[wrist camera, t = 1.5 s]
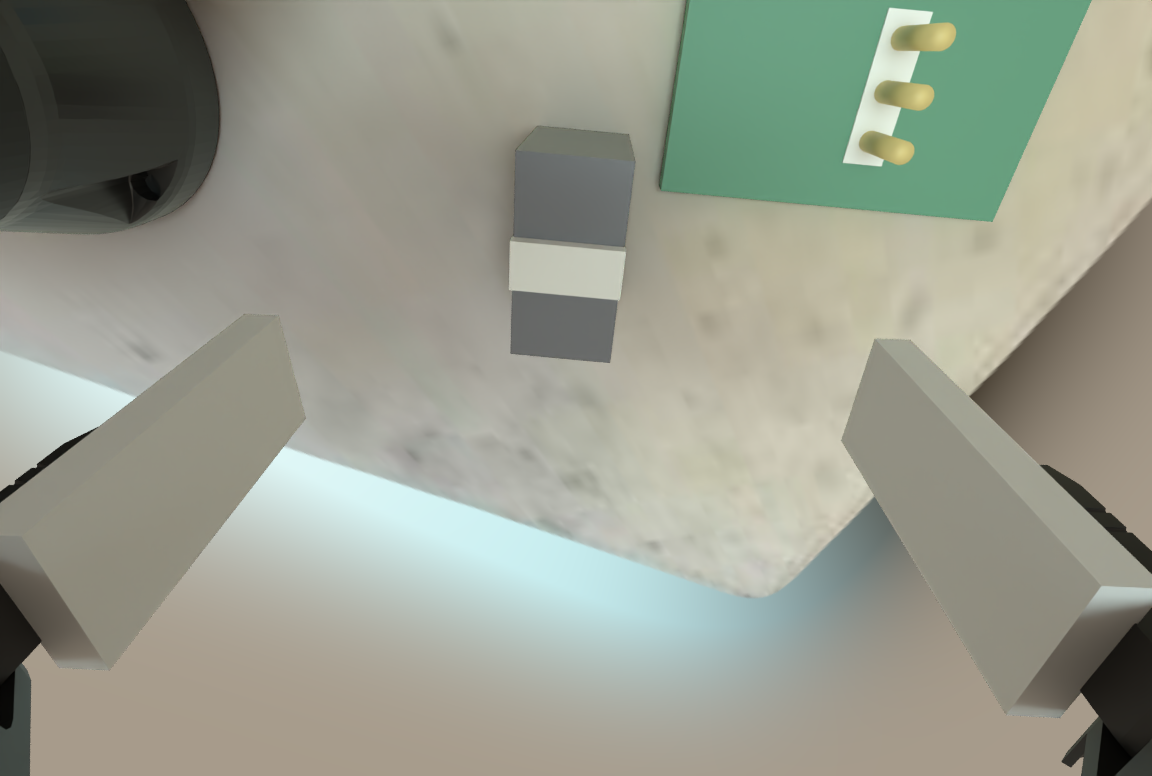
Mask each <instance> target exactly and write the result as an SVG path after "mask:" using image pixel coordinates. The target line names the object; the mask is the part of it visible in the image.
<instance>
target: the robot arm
mask: <svg viewBox="0 0 1152 776" xmlns="http://www.w3.org/2000/svg"><path fill="white" fill-rule="evenodd" d="M218 129H219V108H218V97H217V89H216V84H215V78H214V74H213V70H212V66H211V62H210V59H209V56H208V52H207V49H206V47H205V44H204V41H203V38H202V36H201V33H200V31H199V29H198V26H197V24H196V22H195V20H194V18H193V16H192V14H191V12H190V10H189V8H188V6H187V4H186V2H185V0H0V231H12V232H38V233H63V234H104V233H111V232H117V231H122V230H126V229H130V228H133V227H136V226H138V225H141V224H144V223H146V222H149V221H152V220H154V219H157V218H159V217H162V216H165V215H167V214H168V213H170V212H172V211H174V210H175V209H177V208H179V207H180V206H181V205H183V204H184V203H185V202H186V201H187V200H188V199H189V198H190V197H191V196H192V195H193V194H194V193H195V192H196V190H197V189H198V188H199V187H200V185H201V183H202V182H203V180H204V179H205V177H206V175H207V173H208V171H209V168H210V166H211V163H212V160H213V157H214V153H215V149H216V144H217V138H218ZM305 419H306V417H305V414H304V410H303V406H302V402H301V398H300V395H299V391H298V387H297V383H296V380H295V376H294V372H293V368H292V364H291V361H290V357H289V353H288V349H287V346H286V342H285V338H284V334H283V330H282V327H281V323H280V319H279V316H278V315H252V314H244V315H243V316H242V317H240V318H239V319H238V320H236V321H235V322H234V323H232V324H231V325H230V326H229V327H227V328H226V329H225V330H223V331H222V332H221V333H220V334H218V335H217V336H216V337H214V338H213V339H212V340H210V341H209V342H208V343H207V344H205V345H204V346H203V347H201V348H200V349H199V350H198V351H196V352H195V353H194V354H192V355H191V356H190V357H188V358H187V359H186V360H185V361H183V362H182V363H181V364H179V365H178V366H177V367H176V368H174V369H173V370H172V371H170V372H169V373H168V374H166V375H165V376H164V377H163V378H161V379H160V380H159V381H157V382H156V383H155V384H154V385H152V386H151V387H150V388H148V389H147V390H146V391H144V392H143V393H142V394H141V395H139V396H138V397H137V398H135V399H134V400H133V401H132V402H130V403H129V404H128V405H127V406H125V407H124V408H123V409H121V410H120V411H119V412H117V413H116V414H115V415H113V416H112V417H111V418H110V419H108V420H107V421H106V422H104V423H103V424H102V425H100V426H99V427H97V428H95V429H93V430H91V431H89V432H87V433H85V434H83V435H81V436H78V437H77V438H74V439H72V440H70V441H69V442H66V443H64V444H63V445H61V446H60V447H59V448H57V449H56V450H55V451H53V452H52V453H51V454H50V455H48V456H47V457H45V458H44V459H43V460H42V461H40V462H39V463H38V464H37V468H31V469H30V470H28V471H27V472H26V473H24V474H23V475H22V476H21V477H19V478H18V479H16V480H15V484H14V485H8V486H7V487H6V488H4V489H3V490H2V491H0V776H30V718H31V717H30V715H31V679H30V677H29V674H28V671H27V669H26V668H25V667H24V665H23V664H22V662H23V661H24V660H25V659H26V658H27V657H28V656H29V655H30V653H31V652H32V651H33V650H34V649H35V648H36V647H37V646H38V645H39V644H40V643H41V644H42V645H43V647H44V648H45V649H46V651H47V652H48V653H49V655H50V656H51V658H52V659H53V660H54V662H55V663H56V664H57V666H58V667H59V668H72V669H92V670H110V669H111V668H112V667H113V666H114V664H115V663H116V662H117V660H118V659H119V658H120V657H121V655H122V654H123V653H124V651H125V650H126V649H127V648H128V646H129V645H130V644H131V642H132V641H133V640H134V639H135V637H136V636H137V635H138V633H139V632H140V631H141V630H142V628H143V627H144V626H145V624H146V623H147V622H148V621H149V619H150V618H151V617H152V615H153V614H154V613H155V612H156V610H157V609H158V608H159V606H160V605H161V604H162V602H163V601H164V600H165V598H166V597H167V596H168V595H169V593H170V592H171V591H172V590H173V588H174V587H175V586H176V585H177V583H178V582H179V581H180V579H181V578H182V577H183V575H184V574H185V573H186V572H187V570H188V569H189V568H190V566H191V565H192V564H193V563H194V561H195V560H196V559H197V557H198V556H199V555H200V554H201V552H202V551H203V550H204V549H205V547H206V546H207V545H208V543H209V542H210V541H211V539H212V538H213V537H214V536H215V534H216V533H217V532H218V530H219V529H220V528H221V527H222V525H223V524H224V523H225V521H226V520H227V519H228V518H229V516H230V515H231V513H232V512H233V511H234V510H235V509H236V507H237V506H238V505H239V503H240V502H241V501H242V500H243V498H244V497H245V496H246V494H247V493H248V492H249V491H250V489H251V488H252V487H253V485H254V484H255V483H256V482H257V480H258V479H259V478H260V476H261V475H262V474H263V473H264V471H265V470H266V468H267V467H268V466H269V465H270V463H271V462H272V461H273V460H274V458H275V457H276V456H277V455H278V453H279V452H280V451H281V449H282V448H283V447H284V446H285V444H286V443H287V442H288V440H289V439H290V438H291V437H292V435H293V434H294V433H295V431H296V430H297V429H298V428H299V426H300V425H301V424H302V422H303V421H304V420H305ZM841 441H842V443H843V444H844V446H845V448H846V449H847V451H848V453H849V454H850V456H851V458H852V459H853V461H854V463H855V464H856V466H857V468H858V469H859V471H860V473H861V474H862V476H863V478H864V479H865V481H866V483H867V484H868V486H869V488H870V489H871V491H872V493H873V494H874V496H875V498H876V499H877V501H878V503H879V504H880V506H881V508H882V509H883V511H884V513H885V514H886V516H887V517H888V519H889V521H890V522H891V524H892V526H893V528H894V529H895V531H896V532H897V534H898V536H899V538H900V539H901V541H902V543H903V544H904V546H905V548H906V549H907V551H908V553H909V554H910V556H911V557H912V559H913V560H914V562H915V564H916V566H917V568H918V569H919V571H920V572H921V574H922V576H923V578H924V579H925V581H926V582H927V584H928V586H929V587H930V589H931V591H932V593H933V594H934V596H935V597H936V599H937V601H938V603H939V604H940V606H941V608H942V609H943V611H944V613H945V614H946V616H947V617H948V619H949V621H950V623H951V624H952V626H953V627H954V629H955V631H956V633H957V634H958V636H959V638H960V639H961V641H962V643H963V644H964V646H965V647H966V649H967V651H968V652H969V654H970V656H971V658H972V659H973V661H974V663H975V664H976V666H977V667H978V669H979V671H980V672H981V674H982V676H983V678H984V679H985V681H986V683H987V684H988V686H989V688H990V689H991V691H992V692H993V694H994V696H995V698H996V699H997V701H998V702H999V704H1000V706H1001V707H1002V709H1003V711H1004V713H1005V714H1006V715H1013V716H1033V717H1053V718H1060V717H1061V716H1062V715H1063V714H1064V712H1065V711H1066V710H1067V709H1068V708H1069V706H1070V705H1071V704H1072V702H1073V701H1074V700H1075V699H1076V698H1077V697H1078V695H1079V694H1080V693H1082V694H1083V695H1084V697H1085V698H1086V699H1087V701H1088V702H1089V703H1090V705H1091V706H1092V708H1093V709H1094V710H1095V712H1096V713H1097V714H1098V715H1099V717H1098V718H1097V719H1096V720H1095V721H1094V722H1093V723H1092V725H1091V726H1090V727H1089V728H1088V729H1087V730H1086V731H1085V732H1084V734H1083V735H1082V736H1081V737H1080V738H1079V739H1078V740H1077V741H1076V743H1075V744H1074V745H1073V746H1072V747H1071V748H1070V749H1069V750H1068V752H1067V753H1066V755H1065V757H1064V758H1063V760H1062V763H1064V764H1066V765H1067V766H1069V767H1072V765H1074V764H1075V763H1076V761H1077V760H1078V759H1079V758H1081V757H1084V759H1083V766H1082V774H1081V776H1152V551H1151V550H1150V549H1149V548H1148V547H1146V545H1145V544H1143V543H1142V542H1141V541H1140V540H1139V539H1138V538H1137V537H1136V536H1135V535H1134V534H1133V533H1128V532H1127V531H1126V527H1125V526H1124V525H1123V524H1122V523H1121V522H1120V521H1119V520H1118V519H1117V518H1115V517H1114V516H1113V515H1112V514H1111V513H1106V512H1105V507H1104V506H1103V505H1101V504H1100V503H1099V502H1098V501H1097V500H1096V499H1095V498H1094V497H1093V496H1092V495H1091V494H1090V493H1089V492H1087V491H1086V490H1085V489H1084V488H1083V487H1082V486H1081V485H1079V484H1078V483H1076V482H1075V481H1073V480H1071V479H1070V478H1068V477H1066V476H1065V475H1063V474H1061V473H1060V472H1058V471H1056V470H1055V469H1053V468H1051V467H1050V466H1048V465H1039V464H1038V463H1037V462H1035V460H1034V459H1033V458H1031V457H1030V456H1029V455H1028V454H1027V453H1026V452H1025V451H1024V450H1023V449H1022V448H1021V447H1020V446H1019V445H1018V444H1017V443H1016V442H1015V441H1014V440H1013V439H1012V438H1011V437H1010V436H1009V435H1008V434H1007V433H1006V432H1005V431H1003V429H1002V428H1001V427H1000V426H999V425H997V424H996V423H995V422H994V421H993V420H992V419H991V418H990V417H989V416H988V415H987V414H986V413H985V412H984V411H983V410H982V409H981V408H980V407H979V406H978V405H977V404H976V403H975V402H974V401H973V400H972V399H971V398H970V397H969V396H968V395H967V394H966V393H965V392H964V391H962V390H961V389H960V388H959V387H958V386H957V385H956V384H955V383H954V382H953V381H952V380H951V379H950V378H949V377H948V376H947V375H946V374H945V373H944V372H943V371H942V370H941V369H940V368H939V367H938V366H937V365H936V364H935V363H934V362H933V361H932V360H931V359H930V358H928V357H927V356H926V355H925V354H924V353H923V352H922V351H921V350H920V349H919V348H918V347H917V346H916V345H915V344H914V343H913V342H912V341H911V340H901V339H874V343H873V346H872V349H871V352H870V355H869V358H868V361H867V364H866V367H865V370H864V373H863V376H862V379H861V382H860V385H859V388H858V391H857V394H856V397H855V400H854V403H853V407H852V410H851V413H850V416H849V419H848V422H847V425H846V428H845V431H844V434H843V437H842V440H841Z"/></svg>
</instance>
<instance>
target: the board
mask: <svg viewBox="0 0 1152 776" xmlns="http://www.w3.org/2000/svg"><path fill="white" fill-rule="evenodd" d="M1091 1H1092V0H687V2H686V9H685V15H684V22H683V29H682V36H681V42H680V49H679V56H678V62H677V69H676V76H675V83H674V89H673V96H672V103H671V110H670V116H669V123H668V130H667V136H666V143H665V150H664V157H663V163H662V170H661V177H660V183H659V186H660V189H661V191H670V192H680V193H691V194H702V195H712V196H723V197H734V198H744V199H755V200H766V201H776V202H787V203H798V204H808V205H819V206H830V207H840V208H851V209H862V210H872V211H883V212H894V213H904V214H915V215H926V216H936V217H947V218H958V219H968V220H979V221H990V222H992V221H993V219H994V217H995V215H996V213H997V210H998V208H999V206H1000V204H1001V201H1002V199H1003V197H1004V195H1005V192H1006V190H1007V188H1008V186H1009V184H1010V181H1011V179H1012V177H1013V175H1014V172H1015V170H1016V168H1017V166H1018V163H1019V161H1020V159H1021V157H1022V155H1023V152H1024V150H1025V148H1026V146H1027V143H1028V141H1029V139H1030V137H1031V134H1032V132H1033V130H1034V128H1035V126H1036V123H1037V121H1038V119H1039V117H1040V114H1041V112H1042V110H1043V108H1044V105H1045V103H1046V101H1047V99H1048V97H1049V94H1050V92H1051V90H1052V88H1053V85H1054V83H1055V81H1056V79H1057V76H1058V74H1059V72H1060V70H1061V68H1062V65H1063V63H1064V61H1065V59H1066V56H1067V54H1068V52H1069V50H1070V47H1071V45H1072V43H1073V41H1074V39H1075V36H1076V34H1077V32H1078V30H1079V27H1080V25H1081V23H1082V21H1083V18H1084V16H1085V14H1086V12H1087V10H1088V7H1089V5H1090V3H1091Z"/></svg>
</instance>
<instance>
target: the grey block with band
mask: <svg viewBox="0 0 1152 776" xmlns="http://www.w3.org/2000/svg"><path fill="white" fill-rule="evenodd" d="M634 168H635V158H634V154H633V150H632V145H631V141H630V137H629V134H618V133H608V132H597V131H586V130H576V129H565V128H554V127H544V126H537V127H536V128H535V129H534V130H533V131H532V133H531V134H530V135H529V136H528V137H527V138H526V139H525V140H524V141H523V143H522V144H521V145H520V146H519V147H518V148H517V149H516V154H515V194H514V234H513V237H512V238H511V240H510V261H509V290H512V314H511V354H519V355H530V356H541V357H551V358H562V359H572V360H583V361H594V362H604V363H610V359H611V351H612V343H613V335H614V327H615V319H616V311H617V303H618V300H620V297H621V289H622V281H623V273H624V265H625V257H626V247H625V239H626V231H627V224H628V216H629V208H630V200H631V192H632V184H633V176H634Z"/></svg>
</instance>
